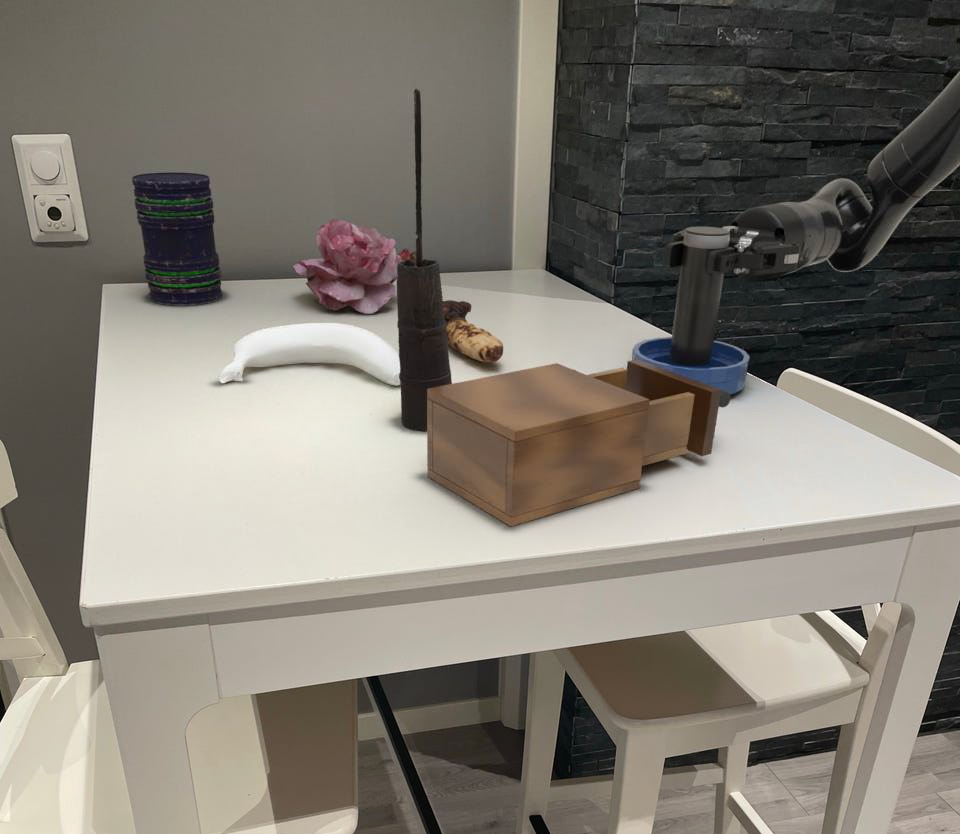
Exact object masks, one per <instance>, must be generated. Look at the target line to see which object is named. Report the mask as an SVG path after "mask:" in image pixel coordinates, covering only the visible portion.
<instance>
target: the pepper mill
mask: <svg viewBox="0 0 960 834" xmlns="http://www.w3.org/2000/svg"><path fill="white" fill-rule="evenodd" d="M684 229H685V233H684V241H683V244H684V245H683V253H682V261H681V266H680V269H679V277H678V285H677V292H676V293H677V295H676V302H675V310H674V318H673V324H672V325H673V326H672V331H671V332H672V334H671V337H672V340H671V348H670V356H669V359H670V361H672V362H674V363H677V364H680V365H686V366H703V365H707V364H709V363H710V362H711V357H712V350H713V344H714V341H715V338H716V337H715V336H716V329H717V324H718V323H717V322H718V316H719V309H720V303H721V296H722V290H723V282H724V275H725V273H723V274H719V275H715V276H713V275H708V274H707V272H706V270H707V263H708V256H709V253H710V252H711V251H714V250H718V249H723V248H727V247H728V246H729V239H730V231H729V230H726V229H722V227H715V226H690V227H686V228H684Z"/></svg>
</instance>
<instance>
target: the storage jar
mask: <svg viewBox="0 0 960 834" xmlns="http://www.w3.org/2000/svg"><path fill="white" fill-rule="evenodd" d="M131 181H132V186H134V189H133V193H134V194H133V195H134V197H135V198H134V200H133V201H134V207H135V210H136V215H137V216H136V219H137V223H138V225H139V226H140V228H141V235H142V242H143V247H144V248H143V249H144V255H143V264H144V268H145V269H144V273H145V274H144V275H145V279H146V281H148V282H147V287H148V289H149V300H150V301H151V302H153V303H155V304H159V305H164V306H165V305H166V306H183V307H184V306H185V307H186V306H199V305H206V304H211V303H215V302H218V301H219V300H221V299H223V291H222V288H221V285H222V280H221V278H222V270H221V267H220V259H219V254H218V253H217V249H216V242H215V241H216V239H215V231H214V223H215V214H214V210H213V209H214V199H213V197H212V190H211V188H210V184H211V180H210V176H209V175H207V174H202V173H196V172H195V173H194V172H173V171H172V172H171V171H170V172H169V171H168V172H150V173H141V174H136V175H133V176H131Z"/></svg>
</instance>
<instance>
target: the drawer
mask: <svg viewBox="0 0 960 834" xmlns="http://www.w3.org/2000/svg"><path fill="white" fill-rule="evenodd" d="M587 375H588V376H591V377H593V378H596V379H598V380H601V381H603V382H606V383H609V384H611V385H614V386H616V387H619V388H621V389H624V390H626V391H629V392H632V393H634V394H637V395H639V396H642V397H644V398H647V399H649V400H650V404H649V413H648V421H647V429H646V438H645V446H644V454H643V462H642V467H644V466H647V465H651V464H655V463H658V462H661V461H664V460H668V459H671V458H675V457H678V456H683V455H685V454H687V451H689V452H691V453H693V454H696V455H698V456H700V457H704V456H705V457H706V456H709V455H711V454H712V451H713V444H714V438H715V432H716V427H717V420H718V414H719V407H720V408H722V409H723V408H726V407H727V406H728V405H729V404H730V401H731V398H732V397H731V396H732V395H731V394H730V393H729V392H726V391H723V390H721V389H718V388H716V387H713V386H710V385H707V384H704V383H701V382H699V381H696V380H693V379H690V378H687V377H685V376H682V375H679V374H676V373H673V372H671V371H668V370H665V369H662V368H659V367H657V366H654V365H651V364H648V363H645V362H643V361H640V360H637V359H636V360H632V359H631V360H628V361H627V362H626V368H624V367H618V368H613V369H608V370H604V371H598V372H594V373H589V374H587Z"/></svg>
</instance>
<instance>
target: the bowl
mask: <svg viewBox="0 0 960 834" xmlns="http://www.w3.org/2000/svg"><path fill="white" fill-rule="evenodd" d="M671 340H672V336H665V337H664V336H663V337H654V338H650V339H645V340H642V341H640V342H637V343H635V344H634V346H633V348H632V353H631V360H636V359H637V360H640V361H643V362H645V363H648V364H651V365H654V366H657V367H659V368H662V369H665V370H668V371H671V372H673V373H676V374H679V375H682V376H685V377H687V378H690V379H693V380H696V381H699V382H701V383H704V384H707V385H710V386H713V387H716V388H718V389H721V390H723V391H726V392H729V393H730V395H733V394H736V393H738V392H739V391H741V390H743V389H744V388H745V385H746V383H747V382H746V380H747V376H748V369H749V363H750V359H751V357H750V355H749V354H748V352H747V351H746V350H743V349H742V348H740V347H739V346H736V345H733V344H729V343H727V342H723V341H718V340H714V344H713V350H712V357H711V362H710V363H709V364H707V365H703V366H686V365H680V364H677V363H674V362H672V361H670V359H669V356H670V348H671Z"/></svg>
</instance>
